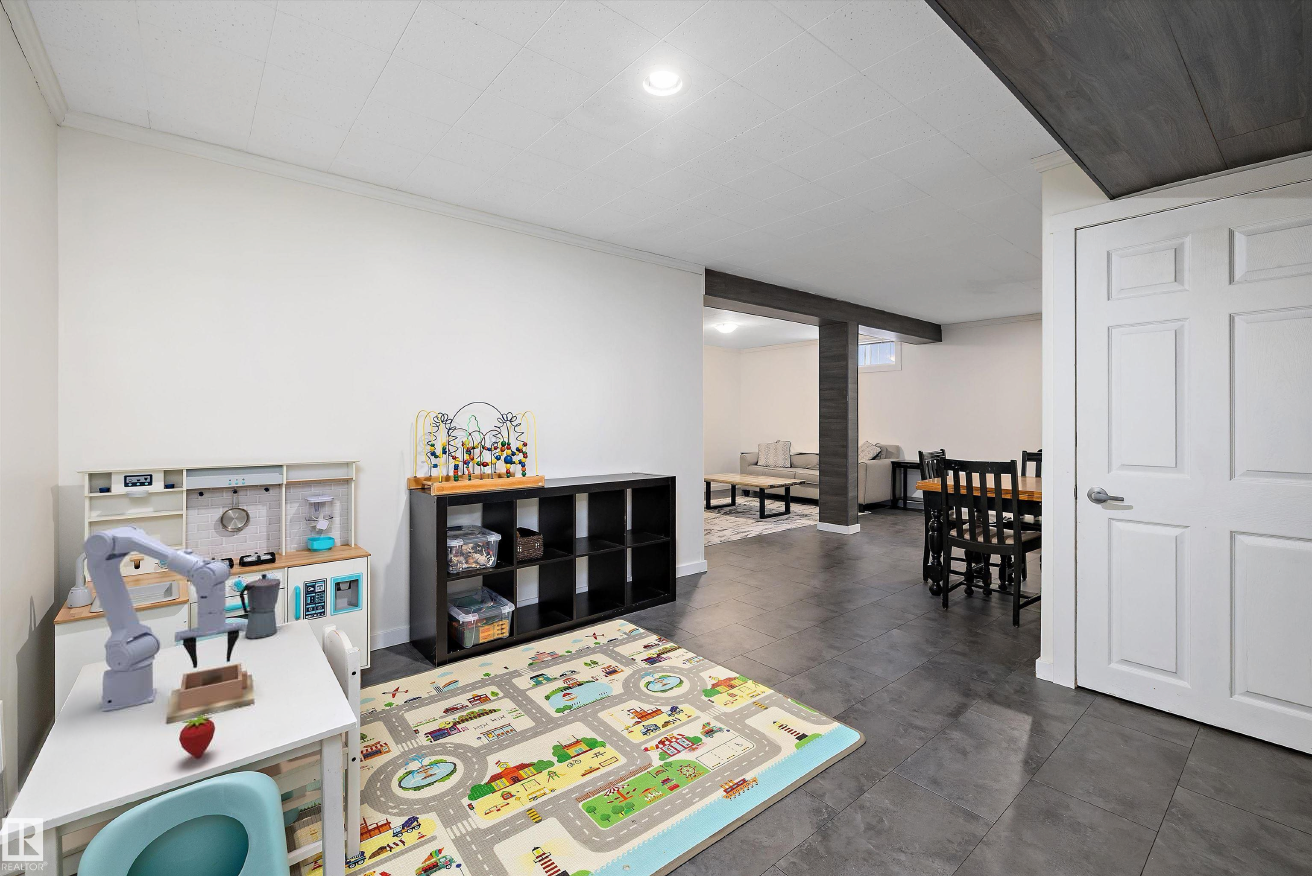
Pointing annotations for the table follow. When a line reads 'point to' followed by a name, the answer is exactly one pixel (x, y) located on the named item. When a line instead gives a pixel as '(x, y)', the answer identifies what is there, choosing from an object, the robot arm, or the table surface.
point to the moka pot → (261, 606)
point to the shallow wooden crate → (212, 687)
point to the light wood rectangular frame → (177, 715)
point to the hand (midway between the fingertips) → (212, 663)
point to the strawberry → (197, 735)
